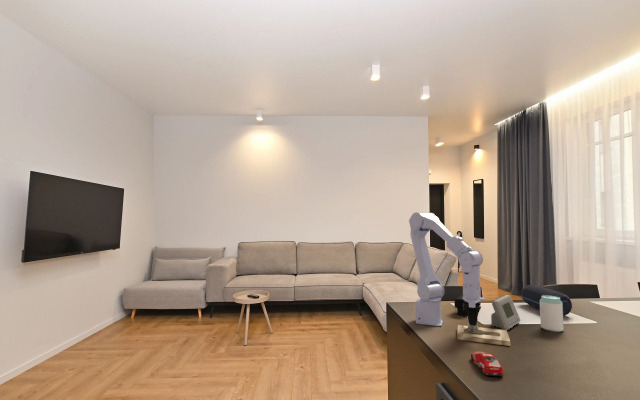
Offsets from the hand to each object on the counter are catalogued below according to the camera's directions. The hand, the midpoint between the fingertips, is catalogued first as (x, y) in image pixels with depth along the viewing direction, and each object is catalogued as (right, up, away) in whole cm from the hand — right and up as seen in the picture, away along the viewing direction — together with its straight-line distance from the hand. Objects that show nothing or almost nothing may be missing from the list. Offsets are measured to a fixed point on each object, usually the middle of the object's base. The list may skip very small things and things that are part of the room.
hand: (472, 323), depth 120 cm
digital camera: (+9, -6, +30) cm, 32 cm away
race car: (-8, -3, -26) cm, 27 cm away
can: (+32, -5, +6) cm, 33 cm away
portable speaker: (+48, -6, +33) cm, 59 cm away
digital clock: (+18, -5, +11) cm, 22 cm away
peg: (0, -2, 0) cm, 2 cm away
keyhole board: (+3, -4, -1) cm, 5 cm away
